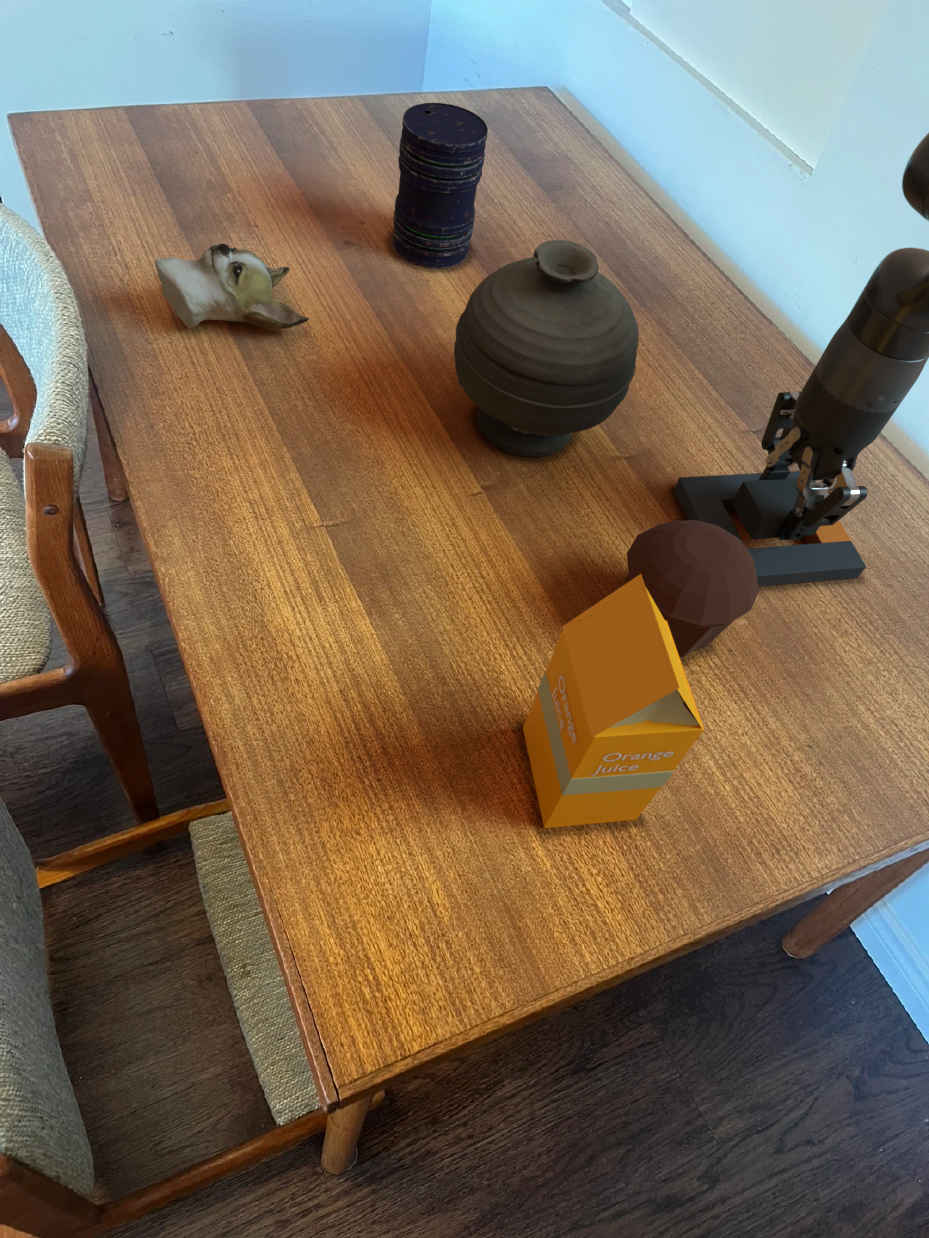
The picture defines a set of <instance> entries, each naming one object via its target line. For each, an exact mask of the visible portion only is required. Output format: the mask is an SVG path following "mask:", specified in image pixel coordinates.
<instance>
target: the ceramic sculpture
mask: <svg viewBox="0 0 929 1238" xmlns="http://www.w3.org/2000/svg"><path fill="white" fill-rule="evenodd" d="M154 265H155V269H156V273H157V278H158V279H159V282H160V286H161V289H162V294H163V296H164V299H166V300H167V302H168V303H169V304H170V306H171V308H172V309H173V311H174V313H175V314H176V316H177V318H179V319H180V320H181V321H182V323H183V324H184V325H185V326H186V327H187V328H189V329H192V328H194V327H196V326H198V324H200V323H201V322H203V321H207V320H211V321H227V322H241V323H242V322H244V323H248V324H250V325H251V324H252V325H255V326H258V327H261V328H264V329H266V330H269V331H279V330H284V329H290V328H293V327H296V326H299V325H302V324H304V323H307V322H308V321H309V320H310V318H309V317H308V316H304V315H302V314H300V313H298V312H296V311H295V310H294V309H293V308H291V307H290V306H289V305H288V304H286V303H283V302H281V301H278V300H276V299H274V298H272V291H273V288H274V287H276V286H277V285H278V284H279V283H280V282H281V281H282V280H283V279H284V278H285V277H286V276H287V275H288V274H289V273H290V271H291V267H290V266H282V267H281V266H280V267H278V268H277V267H276V268H271V267H270V266H267V264H266V263H265V261H263V259H262V258H260V256H258V255H257V254H256V253H254V252H253V251H252V250H249V249H246V248H243V249H238V248H237V247H230V246H229V245H228V244H226V243H219V244H213V245H211V246H209V248H206V249H205V250H204V251H203V252H202V255H201V256H200V258H199V259H196V260H195V259H184V258H179V257H175V256H168V257H165V258H156V259H155V261H154Z"/></svg>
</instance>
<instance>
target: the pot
mask: <svg viewBox="0 0 929 1238" xmlns="http://www.w3.org/2000/svg"><path fill="white" fill-rule="evenodd" d="M599 270H600V266H599V263H598V258H597V257H596V255H595V254H594V252H593V251H592V250H591V249H589V248H587V247H585V246H583V245H582V244H580V243H577V242H575V241H570V240H565V239H553V240H548V241H544V242H542V243H540V244H538V245H537V246H536V248H535V249H534V252H533V254H532V256H530V257H526V258H521V259H519V260H515V261H514V262H511V263H508V264H506V265H503V266H501V267H500V268H498V269H496V270H495V271H493V272H491V273H490V274H489V275H487V277H485V278H484V279H482V281H481V282H480V283H479V284H478V285H477V286H476V287H475V288H474V290H473V291H472V293H470V295H469V298H468V299H467V303H466V306H465V307H464V310H463V312H462V313H461V314H460V316H459V318H458V320H457V323H456V327H455V341H454V348H453V358H454V369H455V373H456V374H455V375H456V377H457V382H458V385H459V386H460V387H461V389H462V390H463V391H464V393H465V395H466V396H467V397H468V398H469V400H470V401H472V402H473V403H474V404H475V406H477V407H478V408H479V410H477V416H476V418H477V422H478V426H479V428H480V431H481V432H482V435H484V436H485V438H486V439H487V440H488V441H489V442H491V444H492V445H494V446H495V447H497V448H498V449H500V450H501V451H503V452H505V453H508V454H510V455H513V456H514V455H516V456H519V457H521V458H522V457H525V458H526V457H527V458H541V457H543V458H544V457H548V456H554V454H557V453H559V452H561V451H562V450H563V449H564V448H565V447H566V446H567V445H568V444H570V441H572V435H573V434H575V433H579V432H583V431H587V430H589V429H592V428H595V427H597V426H599V425H600V424H602V423H603V422H605V421H606V420H607V419H608V418H609V417H610V416H611V415H612V414H613V413H614V412H615V410H616V409H617V408H618V406H619V405H620V404H621V403H622V402H623V401H624V400H625V397H626V396H627V394H628V392H629V389H630V384H631V382H632V380H633V379H634V376H635V373H636V367H637V366H636V365H637V364H636V363H637V355H638V354H637V353H638V347H639V339H640V338H639V326H638V322H637V319H636V316H635V314H634V311H633V308H632V307H631V305H630V303H629V302H628V300H627V299H626V298H625V296H624V294H623V293H622V292H621V290H620V289H619V288H618V287H617V286H616V285H615V284H614V283H613V282H612V281H610V280H609V278H607V277H606V276H605V275H603V273H601V272H599Z"/></svg>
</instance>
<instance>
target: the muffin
mask: <svg viewBox="0 0 929 1238" xmlns="http://www.w3.org/2000/svg"><path fill="white" fill-rule="evenodd" d="M743 544H744V543H743ZM743 544H742V543H741V541H740V540H739V539H738V538H737V537H735V536H734V535H732V534H731V533H729V532H727V531H726V530H724V529H722V528H721V527H719V526H717V525H713V524H709V523H705V522H701V521H698V520H673V521H667V522H663V523H658V524H656V525H654V526H652V527H650V528H648V529H646V530H644V531H642V532H640V533H638V534H637V535H636V537H635V539H633V541H632V544H631V545H630V547H629V549H628V550H627V552H626V558H627V561H626V562H627V569H628V571H627V576H626V580H625V584H626V583H628V582H629V581H631V580H632V579H634V578H635V577H637V576H638V575H640V574H641V575H642V578H643V581H644V584H645V587H646V588H647V590H648V592H649V594H650V595H651V597H652V599H653V600H654V602H655V604H656V606H657V607H658V609H659V611H660V613H661V614H662V616H663V618H664V620H665V621H666V620H667V623H668V626H669V628H670V631H671V634H672V637H673V640H674V643H675V646H676V649H677V652H678V655H679V657H681V658H684V657H686V656H687V655H689V654H691V653H692V652H695V651H698V650H701V649H704V648H707V647H708V646H709V645H710V644H711V643H713V641H714V640H715V639H717V637H718V636H720V635H721V633H723V632H724V631H725V630H726V629H727V628H728V627H729V626H731V624H732V623H734V622H735V621H736V620H737V619H739V618H741V617H742V616H744V615H746V614H747V613H749V612H751V611H752V609H753V606H754V604H755V601H756V599H757V597H758V594H759V592H760V587H759V586H758V581H757V575H756V570H755V565H754V559H753V557H752V556H751V554H750V553H749V551H748V550H747V549H748V548H747V547H746V546H745V544H744V545H743ZM625 584H624V585H625Z"/></svg>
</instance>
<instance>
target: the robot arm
mask: <svg viewBox="0 0 929 1238" xmlns="http://www.w3.org/2000/svg"><path fill="white" fill-rule="evenodd" d="M901 191H902V194H903V198H904V199H905V201H906V202H907V203H908V205H909V206H910V208H911V209H913V210H914V211H915V212H916V213H918V214H919V215H920V217H922V218H923V219H925V220H926V221H927V222H929V132H927V133H926V135H925V136H923V138H922V139H921V140H920V141H919V143H918V144H917V145H916V146H915V148H914V149H913V151H912V153H911V155H910V156H909V158H908V160H907V163H906V165H905V167H904V170H903V173H902V178H901ZM862 289H863V290H862V291H861V293H860V294H859V296H858V298H857V300H856V301H855V303H854V305H853V307H852V309H851V310H850V312H849V314H848V315H847V317H846V318H845V320H844V321H843V322H842V323H841V325H840V327H839V328H838V329H837V330H836V331H835V333H834V334H833V336H832V337H831V338H830V341H829V342H828V343H827V346H826V347H825V349H824V351H823V352H822V354H821V356H820V358H819V359H818V361H817V363H816V364H815V367H814V369H813V370H812V372H811V373H810V375H809V377H808V379H807V380H806V383H805V384H804V386H803V388H802V389H801V391H796V390H795V391H780V392H779V393H778V394H777V396H776V399H775V402H774V405H773V407H772V410H771V413H770V416H769V418H768V421H767V425H766V427H765V431H764V433H763V436H762V439H761V441H760V442H761V444H760V445H761V449H762V450H763V451H767V454H768V455H767V456H766V458H765V465H766V466H765V468H764V469H763V471H762V472H761V473H762V475H761V476H760V478H759V480H780V479H786V478H787V477H788V475H789V473H790V472H791V469H790V468H789V467H793V466H795V465H797V467H798V469H799V470H798V471H800V474H799V477H798V480H797V484H796V490H797V491H798V496H797V499H796V502H795V505H794V509H791V511H790V512H789V514H788V516H787V518H786V520H785V521H784V523H783V524H782V526H781V527H780V529H779V530H778V532H777V536H778V538H777V539H778V540H779V541H796V540H800V539H803V538H804V536H803V535H804V533H805V532H806V530H807V529H808V528H809V527H814V526H828V525H834V524H835V523H836V522H837V521H838V520H839V521H840V520H842V519H843V518H844V517H845V516H846V515H847V514H849V513H850V512H851V511H852V510H853V509H854V508H856V507H857V506H858V505H859V504H861V503H862V502H863V501H864V500H866V499H867V498H868V497H867V496H868V492H869V491H868V488H867V486H865V485H857V483H856V480H855V478H854V474H853V471H854V469H855V467H856V464H857V459H858V456H859V454H860V453H861V452H862V451H863V450H864V449H866V448H867V447H868V446H870V445H871V444H872V443H873V442H875V440H876V439H877V438H878V437H879V435H880V434H881V432H882V431H883V429H884V428H885V426H886V425H887V424H888V422H889V421H890V420H891V418H892V417H893V415H894V414H895V412H896V411H897V409H898V408H899V406H901V404H902V402H903V401H904V400H905V398H906V397H907V395H908V394H909V393H910V391H911V389H912V388H913V386H914V385H915V384H916V382H917V380H918V379H919V377H920V376H921V374H922V372H923V370H924V369H925V366H926V364H927V362H928V360H929V250H927V249H925V248H918V247H902V248H898V249H894V250H893V251H891V252H889V253H888V254H886V255H885V257H884V258H882V260H880V262H879V263H878V265H877V266H876V268H875V269H874V270H873V272H872V274H871V275H870V277H869V279H868V281H867V283H866V284H865V286H864V288H862ZM780 430H782V431H781V435H780V436H777V433H778V432H779V431H780ZM811 480H815V481H816V482H811ZM815 495H816V496H815ZM811 496H815V499H814V502H813V503H809V500H810V497H811Z"/></svg>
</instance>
